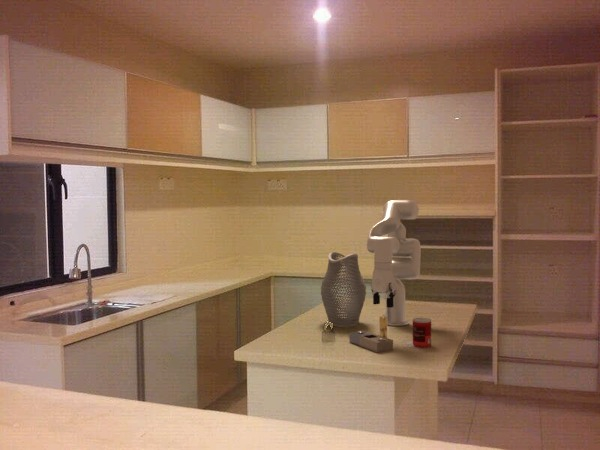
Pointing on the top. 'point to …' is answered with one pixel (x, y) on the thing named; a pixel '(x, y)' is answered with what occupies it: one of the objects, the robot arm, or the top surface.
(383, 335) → the pin
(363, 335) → the bolted slotted plate
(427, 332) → the canned food
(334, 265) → the vase
